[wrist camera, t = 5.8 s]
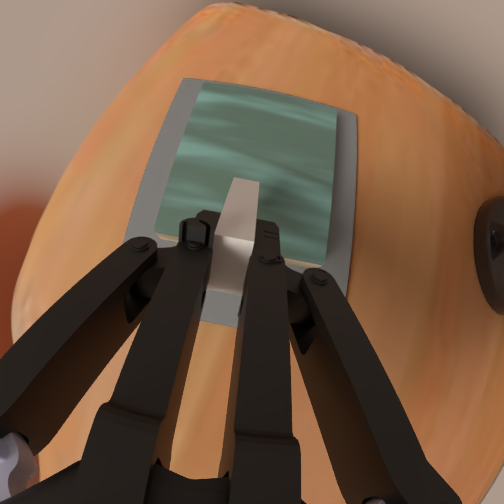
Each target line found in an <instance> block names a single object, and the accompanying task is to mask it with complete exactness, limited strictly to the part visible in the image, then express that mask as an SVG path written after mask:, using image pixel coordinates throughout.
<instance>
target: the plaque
mask: <svg viewBox="0 0 504 504" xmlns="http://www.w3.org/2000/svg"><path fill="white" fill-rule="evenodd" d="M336 119H337V110H335V109H332V108H328V107H325V106H322V105H318V104H315V103H311V102H307V101H303V100H300V99H296V98H291V97H287V96H283V95H279V94H274V93H269V92H264V91H259V90H254V89H249V88H243V87H237V86H231V85H224V84H216V83H208V82H204V83H203V85H202V88H201V90H200V93H199V95H198V97H197V100H196V102H195V105H194V107H193V110H192V112H191V115H190V118H189V120H188V123H187V126H186V128H185V131H184V134H183V136H182V139H181V142H180V145H179V148H178V151H177V154H176V157H175V160H174V163H173V166H172V169H171V172H170V175H169V178H168V181H167V184H166V188H165V191H164V194H163V198H162V201H161V205H160V208H159V212H158V215H157V219H156V223H155V226H154V230H153V231H154V232H155V233H156V234H157V235H158V236H159V237H160V239H164V240H169V241H174V242H178V239H179V223H180V222H181V221H182V220H184V219H187V218H195V217H196V215H197V213H199V212H201V211H202V210H209V211H215V212H220V213H221V212H222V209H223V207H224V204H225V201H226V198H227V195H228V192H229V189H230V186H231V184H232V181H233V178H234V177H235V178H241V179H246V180H251V181H257V182H260V183H259V194H258V205H257V217H256V219H261V220H266V221H271V222H275V223H276V225H277V226H278V227H279V235H280V251H281V255H282V256H283V257H284V260H285V264H290V265H295V266H301V267H306V268H318V267H320V266H323V265H325V257H326V249H327V241H328V232H329V223H330V213H331V202H332V190H333V177H334V162H335V144H336Z"/></svg>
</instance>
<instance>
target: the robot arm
mask: <svg viewBox="0 0 504 504" xmlns="http://www.w3.org/2000/svg"><path fill="white" fill-rule="evenodd" d="M259 183H260V182H257V181H251V180H246V179H241V178H235V177H234V178H233V181H232V184H231V186H230V189H229V192H228V195H227V198H226V201H225V204H224V207H223V209H222V212H221V213H220V212H215V211H209V210H202V211H201V212H199V213H197V215H196V217H195V218H187V219H184V220H182V221H181V222H180V223H179V239H178V243H177V245H176V246H174V247H166V248H157V243H156V241H155V240H153V239H151V238H149V237H144V236H142V237H141V236H139V237H134V238H131V239H129V240H127V241H126V242H125V243H124V244H122V245H121V246H120V247H119V248H117V249H116V250H115V251H114V252H113V253H111V254H110V255H109V256H108V257H106V258H105V259H104V260H103V261H102V262H100V263H99V264H98V265H97V266H96V267H95V268H93V269H92V270H91V271H90V272H89V273H88V274H87V275H85V276H84V277H83V278H82V279H81V280H80V281H79V282H77V283H76V284H75V285H74V286H73V287H72V288H71V289H70V290H69V291H67V292H66V293H65V294H64V295H63V296H62V297H61V298H60V299H59V300H58V301H57V302H56V303H55V304H53V305H52V306H51V307H50V308H49V309H48V310H47V311H46V312H45V313H44V314H43V315H42V316H41V317H40V318H39V319H38V320H37V321H36V322H35V323H34V324H33V325H32V326H31V327H30V328H29V329H28V330H27V331H26V332H25V333H24V334H23V335H22V336H21V337H20V338H19V339H18V340H17V342H16V343H15V344H14V345H13V346H12V347H11V348H10V349H9V350H8V351H7V352H6V353H5V355H4V356H3V357H2V358H1V359H0V504H306V503H305V502H304V501H303V500H302V499H301V452H300V445H299V442H298V440H297V439H296V438H295V437H294V436H293V433H292V399H291V366H290V342H291V345H292V348H293V351H294V354H295V357H296V360H297V362H298V365H299V368H300V371H301V374H302V377H303V380H304V383H305V386H306V389H307V392H308V395H309V398H310V401H311V404H312V407H313V410H314V413H315V416H316V419H317V422H318V425H319V428H320V431H321V434H322V437H323V440H324V443H325V446H326V449H327V452H328V456H329V459H330V462H331V465H332V468H333V471H334V474H335V477H336V480H337V483H338V486H339V488H340V491H341V493H342V496H343V498H344V499H345V501H346V503H347V504H462V501H461V499H460V498H459V496H458V495H457V494H456V493H455V492H454V490H453V489H452V488H451V487H450V486H449V485H448V484H447V483H446V482H445V480H444V479H443V478H442V477H441V476H440V475H439V474H438V473H437V471H436V470H435V469H434V468H433V467H432V466H431V465H430V464H429V462H428V461H427V460H426V457H425V455H424V453H423V450H422V448H421V446H420V443H419V441H418V439H417V437H416V434H415V432H414V430H413V428H412V426H411V423H410V421H409V419H408V417H407V415H406V413H405V410H404V408H403V406H402V404H401V402H400V400H399V398H398V396H397V394H396V392H395V390H394V388H393V386H392V384H391V382H390V380H389V378H388V376H387V374H386V372H385V370H384V368H383V366H382V364H381V362H380V360H379V358H378V356H377V354H376V352H375V350H374V349H373V347H372V345H371V343H370V341H369V339H368V337H367V335H366V334H365V332H364V330H363V328H362V326H361V324H360V323H359V321H358V319H357V317H356V315H355V314H354V312H353V310H352V308H351V307H350V305H349V303H348V301H347V300H346V298H345V296H344V294H343V293H342V291H341V289H340V287H339V286H338V284H337V282H336V281H335V279H334V278H333V276H332V275H331V274H330V273H328V272H327V271H325V270H322V269H320V268H308V269H306V270H304V272H303V274H302V273H299V272H297V271H294V270H292V269H290V268H289V267H287V266H286V265H285V260H284V257H283V256H282V255H281V251H280V235H279V227H278V226H277V225H276V223H275V222H271V221H266V220H261V219H256V217H257V205H258V194H259ZM474 252H475V261H476V267H477V272H478V277H479V281H480V284H481V287H482V290H483V293H484V295H485V297H486V299H487V301H488V303H489V305H490V306H491V307H492V309H493V310H494V311H495V312H497V313H498V314H500V315H504V196H498V197H495V198H493V199H491V200H489V201H487V202H485V203H484V204H483V205H482V206H481V208H480V210H479V212H478V214H477V218H476V222H475V230H474ZM207 289H209V290H214V291H219V292H225V293H230V294H236V295H241V296H242V298H241V303H240V307H239V311H238V316H237V317H238V325H237V333H236V341H235V350H234V358H233V366H232V374H231V382H230V390H229V399H228V407H227V415H226V424H225V432H224V440H223V449H222V456H221V461H220V466H219V473H218V478H212V479H188V478H186V477H183V476H181V475H179V474H177V473H174V472H172V471H170V470H169V467H170V461H171V450H172V443H173V438H174V433H175V428H176V423H177V418H178V413H179V409H180V404H181V399H182V395H183V390H184V386H185V381H186V377H187V373H188V368H189V364H190V360H191V355H192V351H193V347H194V343H195V338H196V334H197V330H198V326H199V322H200V318H201V314H202V310H203V306H204V302H205V298H206V290H207ZM140 322H141V323H140ZM139 323H140V326H139V328H138V331H137V333H136V335H135V338H134V340H133V343H132V345H131V347H130V350H129V352H128V355H127V357H126V360H125V363H124V365H123V368H122V370H121V373H120V376H119V378H118V381H117V384H116V386H115V389H114V392H113V395H112V397H111V399H110V400H109V402H106V403H103V404H102V405H101V406H100V408H99V409H98V411H97V413H96V416H95V418H94V421H93V424H92V427H91V430H90V433H89V436H88V439H87V442H86V446H85V449H84V452H83V455H82V459H81V460H80V461H77V462H75V463H73V464H72V465H70V466H68V467H67V468H65V469H63V470H61V471H60V472H58V473H56V474H54V475H52V476H51V477H49V478H47V479H45V480H43V481H41V482H39V483H38V484H36V485H34V486H32V487H30V488H28V489H26V484H27V481H28V480H29V479H30V477H31V476H33V475H35V474H36V473H37V464H36V462H35V460H34V456H35V455H36V454H38V453H39V452H40V451H41V450H42V449H43V448H45V447H46V446H47V445H48V444H49V443H50V441H51V440H52V439H53V437H54V436H55V435H56V434H57V432H58V431H59V429H60V428H61V427H62V425H63V424H64V422H65V421H66V420H67V418H68V417H69V415H70V414H71V413H72V411H73V410H74V408H75V407H76V406H77V404H78V403H79V401H80V400H81V399H82V397H83V396H84V395H85V393H86V392H87V391H88V389H89V388H90V387H91V385H92V384H93V383H94V381H95V380H96V379H97V377H98V376H99V375H100V373H101V372H102V371H103V369H104V368H105V367H106V365H107V364H108V363H109V361H110V360H111V359H112V358H113V356H114V355H115V354H116V352H117V351H118V350H119V349H120V347H121V346H122V345H123V343H124V342H125V341H126V340H127V338H128V337H129V336H130V335H131V333H132V332H133V331H134V330H135V328H136V327H137V326H138V325H139ZM289 339H290V341H289Z"/></svg>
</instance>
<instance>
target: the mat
mask: <svg viewBox="0 0 504 504" xmlns="http://www.w3.org/2000/svg"><path fill="white" fill-rule="evenodd" d="M204 82H208V83H216V84H224V85H231V86H237V87H243V88H249V89H254V90H259V91H264V92H269V93H274V94H279V95H283V96H287V97H291V98H296V99H300V100H303V101H307V102H311V103H315V104H318V105H322V106H325V107H328V108H332V109H335V110H337V119H336V144H335V162H334V177H333V190H332V202H331V213H330V223H329V232H328V241H327V249H326V257H325V265H323V266H320V267H318V268H320V269H322V270H325V271H327V272H328V273H330V274H331V275H332V276H333V278H334V279H335V281H336V282H337V284H338V286H339V287H340V289H341V291H342V293H343V294H344V296H345V298H346V291H347V284H348V276H349V267H350V258H351V249H352V238H353V226H354V212H355V194H356V165H357V122H356V114H354V113H351V112H348V111H345V110H342V109H339V108H335V107H332V106H329V105H326V104H322V103H319V102H315V101H312V100H308V99H304V98H300V97H296V96H292V95H288V94H284V93H279V92H275V91H270V90H265V89H260V88H255V87H250V86H244V85H238V84H231V83H225V82H217V81H209V80H200V79H190V78H183V80H182V82H181V84H180V86H179V89H178V91H177V93H176V95H175V97H174V99H173V101H172V104H171V106H170V108H169V111H168V113H167V115H166V117H165V120H164V122H163V125H162V127H161V129H160V132H159V134H158V137H157V139H156V142H155V145H154V147H153V150H152V152H151V155H150V158H149V161H148V163H147V166H146V169H145V172H144V175H143V178H142V181H141V184H140V187H139V190H138V193H137V196H136V199H135V202H134V206H133V209H132V212H131V216H130V219H129V223H128V226H127V230H126V234H125V238H124V241H123V244H124V243H125V242H126V241H127V240H129V239H131V238H134V237H139V236H141V237H142V236H144V237H149V238H151V239H153V240H155V241H156V243H157V248H166V247H174V246H176V245H177V243H178V242H174V241H169V240H164V239H160V237H159V236H158V235H157V234H156V233H155V232H154V231H153V230H154V226H155V223H156V219H157V215H158V212H159V208H160V205H161V201H162V198H163V194H164V191H165V188H166V184H167V181H168V178H169V175H170V172H171V169H172V166H173V163H174V160H175V157H176V154H177V151H178V148H179V145H180V142H181V139H182V136H183V134H184V131H185V128H186V126H187V123H188V120H189V118H190V115H191V112H192V110H193V107H194V105H195V102H196V100H197V97H198V95H199V93H200V90H201V88H202V85H203V83H204ZM285 265H286V266H287V267H289V268H290V269H292V270H294V271H297V272H299V273H302V274H303V272H304V270H306V269H308V268H306V267H301V266H295V265H290V264H285ZM241 298H242V296H241V295H236V294H230V293H225V292H219V291H214V290H209V289H207V290H206V298H205V302H204V306H203V310H202V314H201V318H200V321H205V322H210V323H215V324H220V325H225V326H231V327H236V328H237V325H238V317H237V316H238V311H239V307H240V303H241Z"/></svg>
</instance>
